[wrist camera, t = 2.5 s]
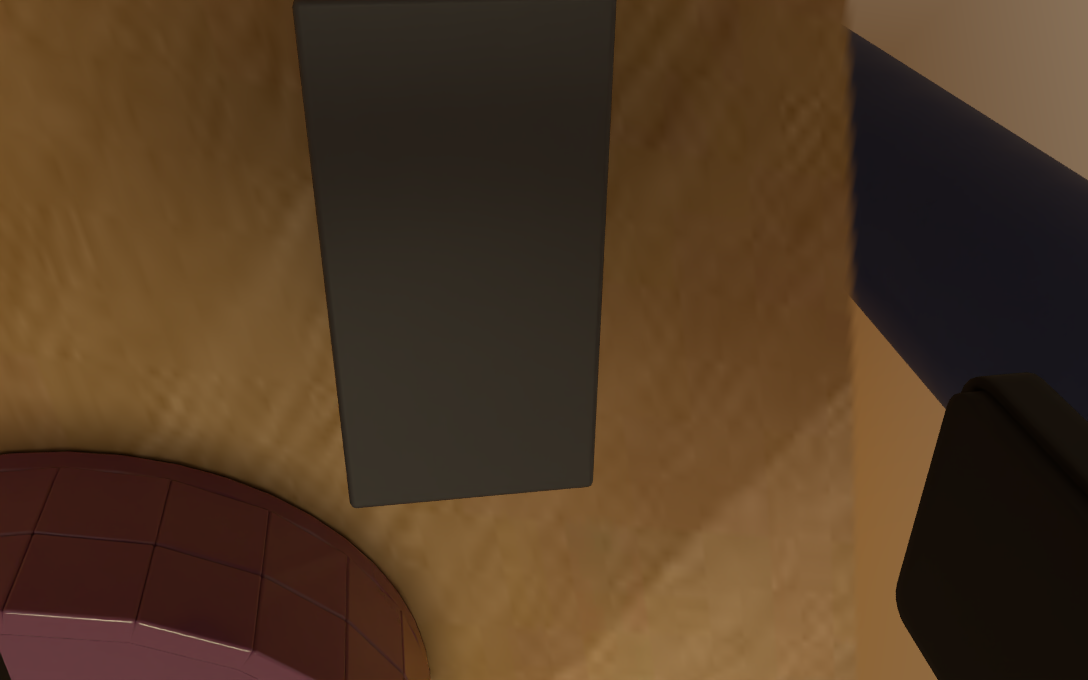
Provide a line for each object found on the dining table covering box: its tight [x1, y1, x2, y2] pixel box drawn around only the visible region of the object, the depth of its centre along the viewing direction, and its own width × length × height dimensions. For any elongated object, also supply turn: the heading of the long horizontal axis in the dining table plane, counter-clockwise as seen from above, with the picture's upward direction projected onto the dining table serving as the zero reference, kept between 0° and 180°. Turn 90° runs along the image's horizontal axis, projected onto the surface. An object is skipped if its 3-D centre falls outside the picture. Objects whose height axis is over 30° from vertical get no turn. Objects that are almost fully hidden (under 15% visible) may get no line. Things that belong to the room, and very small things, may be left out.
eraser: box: [292, 0, 616, 508], centre depth 16 cm, size 4×8×5 cm, turn 179°
